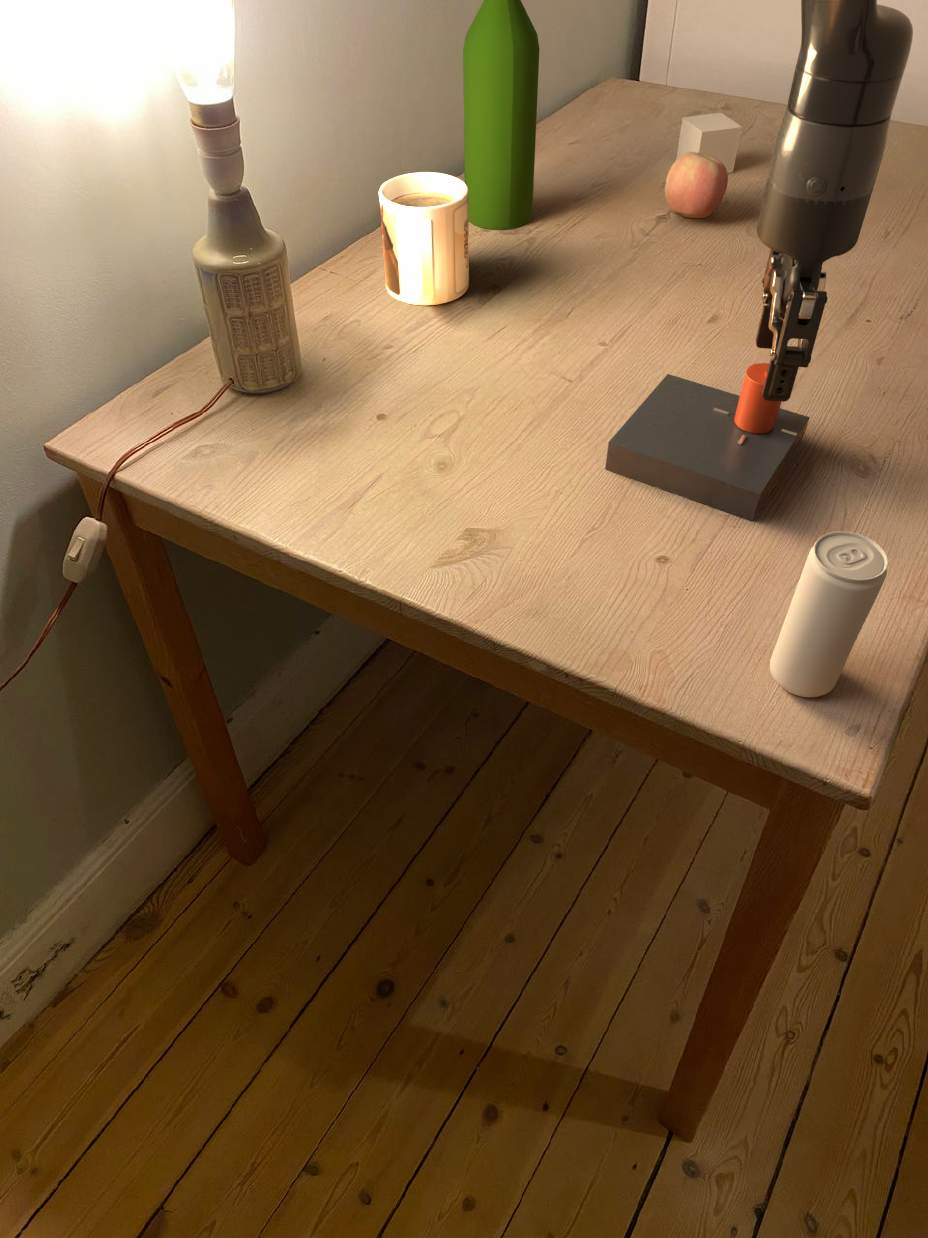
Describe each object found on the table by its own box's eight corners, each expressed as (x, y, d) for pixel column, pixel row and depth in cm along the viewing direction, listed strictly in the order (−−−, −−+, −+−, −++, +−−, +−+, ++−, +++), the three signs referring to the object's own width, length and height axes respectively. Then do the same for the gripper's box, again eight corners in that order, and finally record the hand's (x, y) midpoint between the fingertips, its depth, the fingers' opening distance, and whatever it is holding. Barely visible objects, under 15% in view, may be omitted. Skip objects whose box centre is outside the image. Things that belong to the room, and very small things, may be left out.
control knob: (730, 411, 84) (742, 360, 80) (768, 410, 84) (782, 358, 80) (739, 434, 81) (752, 382, 78) (779, 433, 81) (794, 381, 78)
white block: (694, 177, 128) (702, 131, 124) (675, 162, 132) (682, 117, 128) (733, 172, 129) (741, 126, 125) (713, 156, 133) (721, 111, 129)
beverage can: (754, 663, 67) (795, 542, 58) (806, 642, 68) (854, 521, 60) (796, 711, 64) (846, 591, 55) (850, 688, 65) (908, 567, 57)
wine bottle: (546, 214, 120) (563, -96, 97) (501, 236, 116) (507, -82, 92) (496, 195, 125) (500, -105, 101) (450, 216, 120) (444, -93, 96)
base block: (802, 441, 86) (811, 413, 83) (752, 521, 78) (760, 492, 76) (664, 398, 91) (669, 370, 89) (604, 468, 83) (608, 440, 81)
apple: (725, 231, 116) (738, 166, 110) (664, 231, 116) (674, 166, 111) (714, 205, 122) (726, 141, 116) (657, 205, 122) (666, 141, 116)
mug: (490, 281, 108) (491, 184, 100) (431, 324, 101) (427, 225, 93) (418, 258, 112) (413, 164, 104) (357, 299, 105) (347, 201, 97)
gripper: (890, 219, 62) (825, 421, 74) (860, 143, 71) (807, 333, 83) (776, 213, 63) (730, 414, 74) (762, 139, 72) (723, 327, 84)
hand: (770, 371), depth 79 cm, fingers open, 8 cm apart
